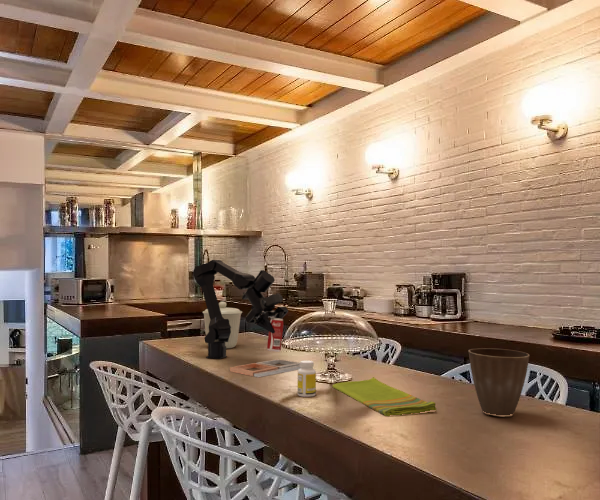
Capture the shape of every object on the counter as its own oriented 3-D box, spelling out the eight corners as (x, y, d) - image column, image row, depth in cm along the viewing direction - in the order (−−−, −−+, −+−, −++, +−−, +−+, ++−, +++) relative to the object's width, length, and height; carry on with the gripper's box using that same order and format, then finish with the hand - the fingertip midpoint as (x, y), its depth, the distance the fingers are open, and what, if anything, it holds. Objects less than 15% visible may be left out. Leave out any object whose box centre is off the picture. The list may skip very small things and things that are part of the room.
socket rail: (258, 377, 187) (258, 372, 187) (229, 371, 197) (229, 367, 197) (306, 367, 205) (306, 363, 206) (278, 362, 215) (278, 359, 215)
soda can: (267, 349, 207) (270, 317, 208) (280, 351, 207) (283, 318, 208) (266, 350, 202) (269, 317, 203) (280, 351, 202) (283, 318, 203)
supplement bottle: (318, 393, 164) (318, 360, 164) (312, 398, 159) (312, 363, 159) (300, 392, 165) (301, 359, 166) (294, 396, 160) (295, 362, 161)
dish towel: (385, 419, 139) (386, 406, 139) (331, 389, 173) (331, 378, 173) (438, 414, 144) (438, 402, 144) (375, 386, 178) (375, 376, 178)
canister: (239, 350, 244) (239, 303, 245) (198, 350, 245) (199, 302, 245) (243, 345, 263) (244, 300, 263) (205, 344, 263) (206, 300, 263)
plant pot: (501, 405, 153) (502, 347, 154) (542, 419, 139) (542, 355, 140) (456, 409, 148) (456, 349, 148) (494, 424, 134) (494, 358, 134)
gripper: (252, 286, 201) (274, 319, 194) (285, 285, 216) (306, 316, 208) (236, 307, 206) (257, 339, 199) (269, 304, 220) (290, 335, 213)
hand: (278, 332), depth 205 cm, fingers closed on soda can, 5 cm apart
